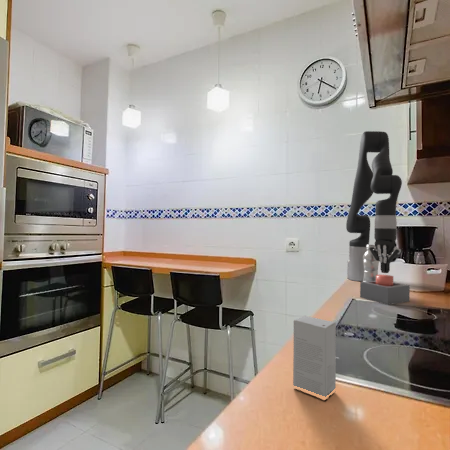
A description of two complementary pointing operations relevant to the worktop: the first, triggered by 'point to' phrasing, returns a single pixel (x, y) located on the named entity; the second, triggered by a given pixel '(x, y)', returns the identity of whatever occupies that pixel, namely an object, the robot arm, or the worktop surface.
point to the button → (384, 280)
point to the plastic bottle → (370, 265)
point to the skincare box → (314, 355)
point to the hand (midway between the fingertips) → (384, 272)
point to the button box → (385, 292)
